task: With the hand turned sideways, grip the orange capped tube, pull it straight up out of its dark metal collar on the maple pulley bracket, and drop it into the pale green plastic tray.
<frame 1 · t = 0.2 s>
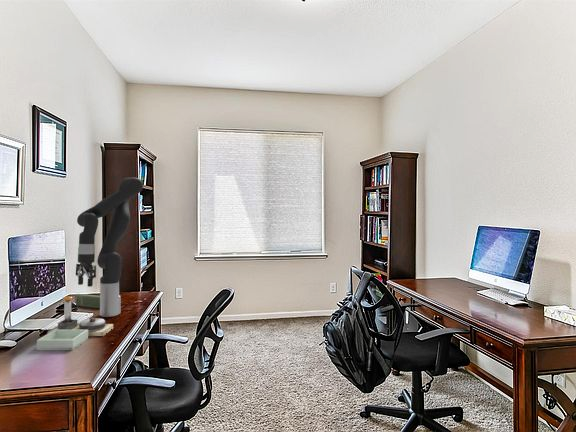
hand: (85, 285, 202), 18 cm above the table, tool pointing down, fingers open, 8 cm apart
tensioner bracket: (81, 332, 185), on the table
handheld radio: (93, 307, 231), on the table
pin tray: (63, 344, 169), on the table
orange capped tube: (67, 327, 185), point 2 cm above the table, touching tensioner bracket
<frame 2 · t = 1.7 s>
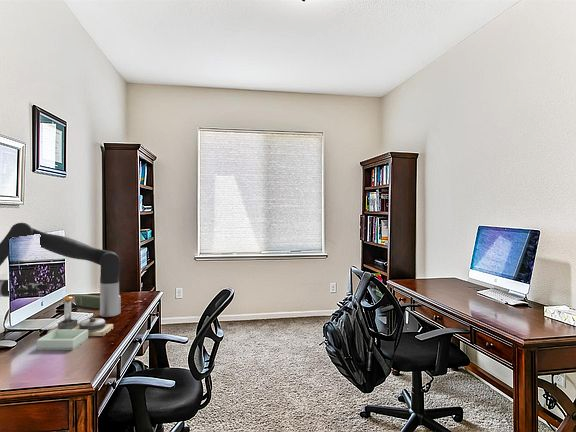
hand: (42, 288, 184), 20 cm above the table, tool horizontal, fingers open, 8 cm apart
nothing on the table moved.
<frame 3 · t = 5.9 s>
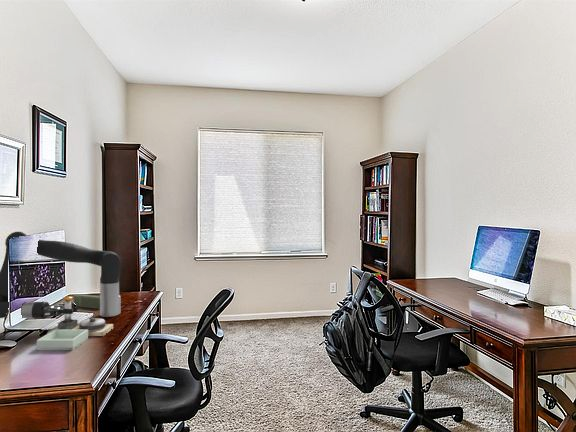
hand: (74, 310, 185), 10 cm above the table, tool horizontal, fingers closed on orange capped tube, 2 cm apart
orange capped tube: (67, 327, 185), point 2 cm above the table, touching gripper, tensioner bracket
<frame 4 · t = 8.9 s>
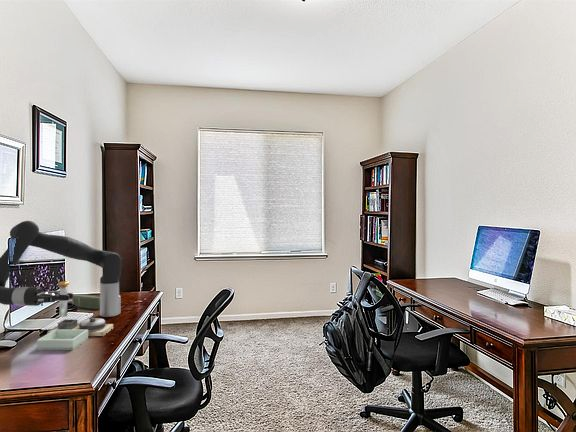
hand: (70, 296, 169), 20 cm above the table, tool horizontal, fingers closed on orange capped tube, 2 cm apart
orange capped tube: (63, 315, 169), point 12 cm above the table, touching gripper
when the fingers open (11 cm above the table, at t = 10.8 s): orange capped tube drops 2 cm, resting on pin tray.
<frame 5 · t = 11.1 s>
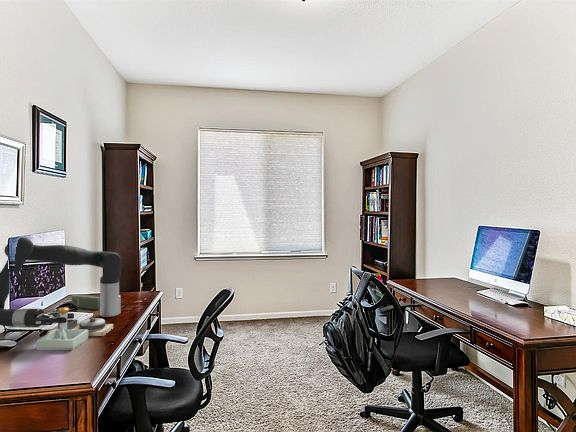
hand: (69, 317, 169), 11 cm above the table, tool horizontal, fingers open, 5 cm apart
orange capped tube: (63, 341, 169), point 1 cm above the table, touching pin tray
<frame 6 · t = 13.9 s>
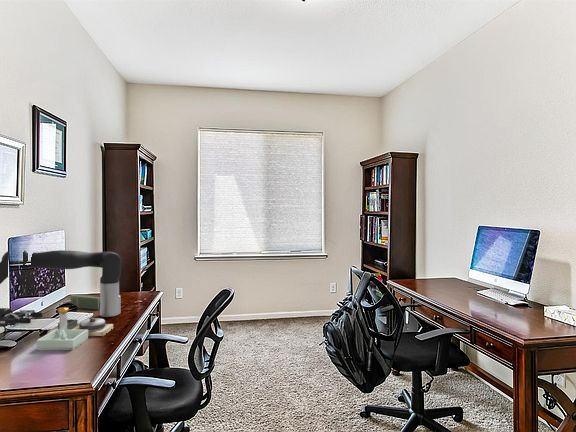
hand: (36, 317, 168), 11 cm above the table, tool horizontal, fingers open, 8 cm apart
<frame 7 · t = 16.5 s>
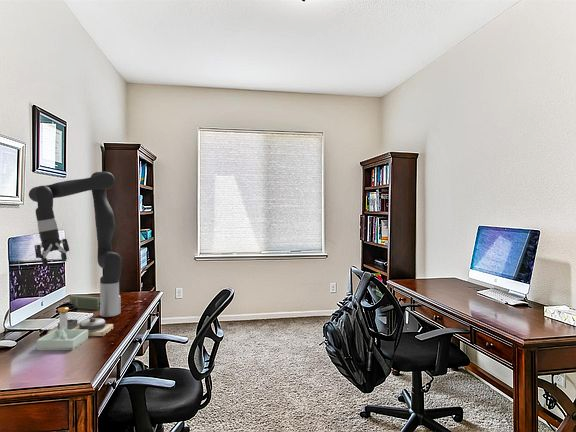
hand: (55, 263, 188), 31 cm above the table, tool pointing down, fingers open, 8 cm apart
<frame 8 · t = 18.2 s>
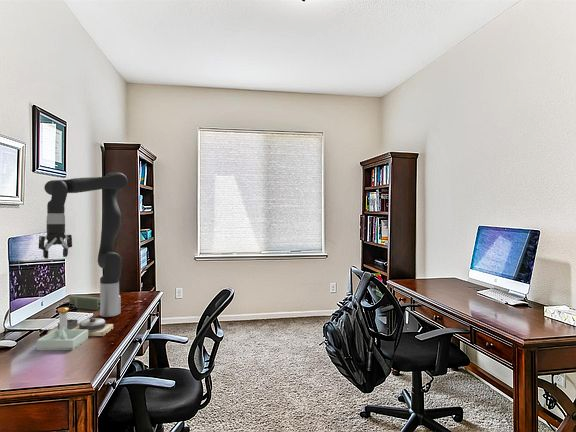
hand: (55, 257, 190), 33 cm above the table, tool pointing down, fingers open, 8 cm apart
at the end: orange capped tube inside the target area on the pin tray (0.1 cm from its centre), point 1.0 cm above the pin tray's base; the gripper is holding nothing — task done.
